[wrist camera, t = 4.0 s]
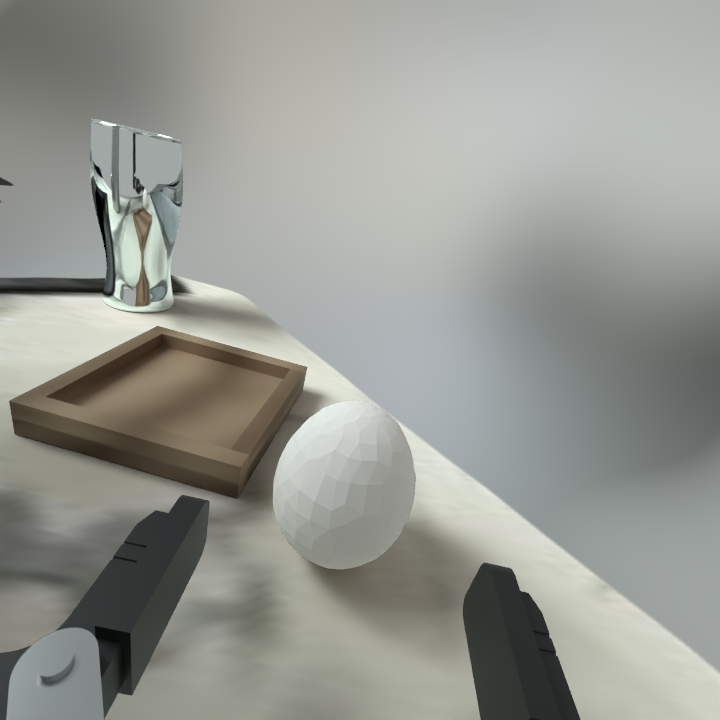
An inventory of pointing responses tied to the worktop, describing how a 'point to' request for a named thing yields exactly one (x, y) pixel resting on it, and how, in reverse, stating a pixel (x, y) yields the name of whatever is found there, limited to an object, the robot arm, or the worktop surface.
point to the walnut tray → (167, 408)
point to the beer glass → (136, 212)
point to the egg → (344, 485)
